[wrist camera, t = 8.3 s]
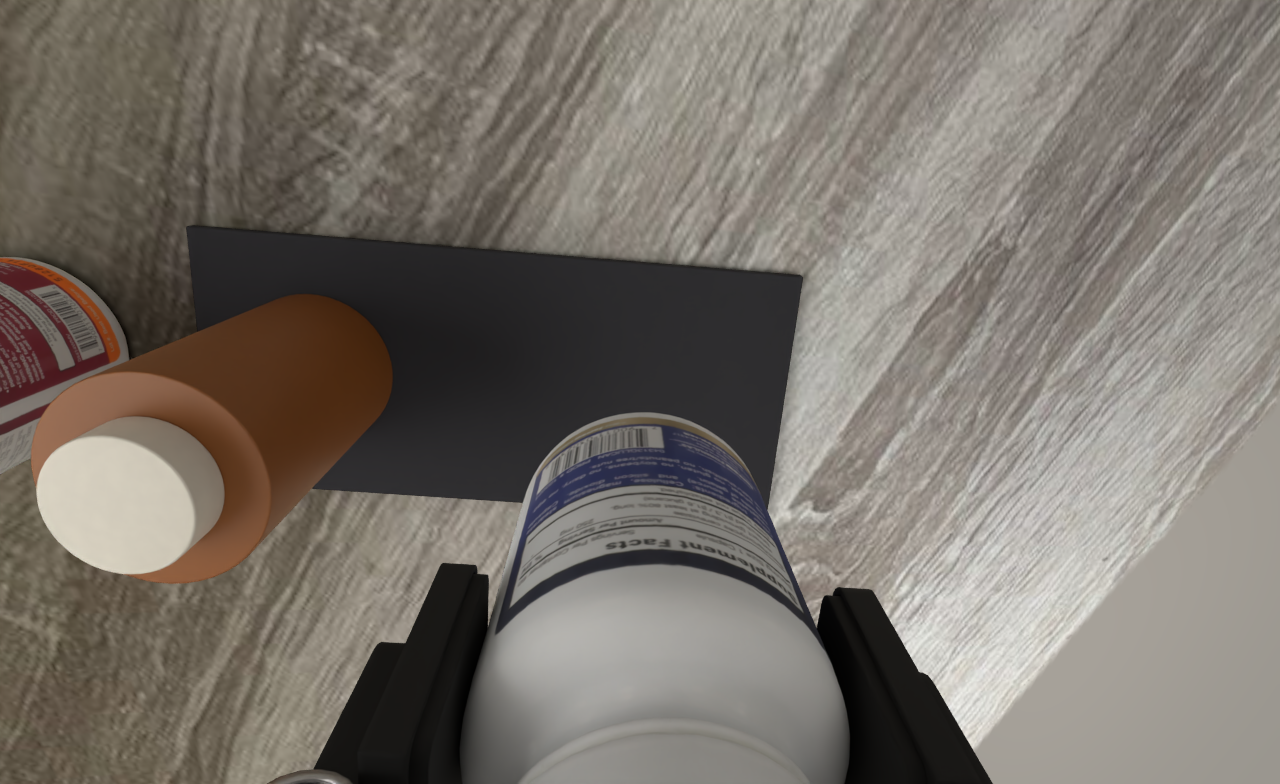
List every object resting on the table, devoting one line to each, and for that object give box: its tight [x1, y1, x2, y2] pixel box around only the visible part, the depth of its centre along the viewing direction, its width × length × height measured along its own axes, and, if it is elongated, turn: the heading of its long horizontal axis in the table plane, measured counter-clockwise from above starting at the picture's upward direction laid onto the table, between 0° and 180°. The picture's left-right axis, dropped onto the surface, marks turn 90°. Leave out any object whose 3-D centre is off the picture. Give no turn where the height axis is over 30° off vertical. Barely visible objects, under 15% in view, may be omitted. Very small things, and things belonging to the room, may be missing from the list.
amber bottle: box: [31, 294, 393, 584], centre depth 20 cm, size 5×5×10 cm
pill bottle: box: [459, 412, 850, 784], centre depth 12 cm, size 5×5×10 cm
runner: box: [186, 225, 803, 509], centre depth 25 cm, size 20×9×1 cm, turn 85°
